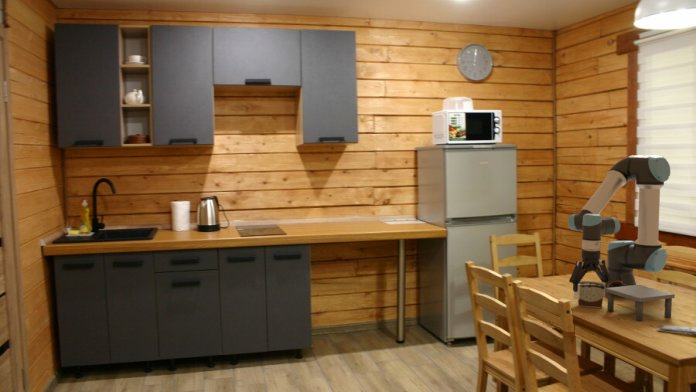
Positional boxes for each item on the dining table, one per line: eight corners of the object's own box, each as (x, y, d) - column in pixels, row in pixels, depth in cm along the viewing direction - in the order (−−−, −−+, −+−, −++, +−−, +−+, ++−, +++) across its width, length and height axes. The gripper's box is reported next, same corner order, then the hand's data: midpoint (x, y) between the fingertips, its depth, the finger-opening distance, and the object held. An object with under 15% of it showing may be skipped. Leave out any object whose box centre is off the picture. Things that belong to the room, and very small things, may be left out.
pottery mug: (635, 300, 265) (629, 285, 263) (615, 308, 267) (608, 294, 265) (625, 287, 277) (619, 273, 274) (605, 295, 279) (599, 281, 276)
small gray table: (638, 306, 253) (638, 284, 252) (673, 317, 236) (674, 294, 235) (604, 310, 247) (605, 288, 246) (639, 322, 230) (639, 298, 229)
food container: (604, 304, 256) (604, 282, 255) (605, 308, 250) (606, 285, 249) (574, 302, 260) (574, 280, 259) (574, 305, 254) (575, 283, 253)
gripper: (573, 252, 246) (571, 302, 247) (620, 249, 254) (618, 297, 255) (561, 249, 253) (560, 297, 254) (607, 246, 261) (605, 293, 262)
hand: (589, 297), depth 255 cm, fingers open, 13 cm apart
